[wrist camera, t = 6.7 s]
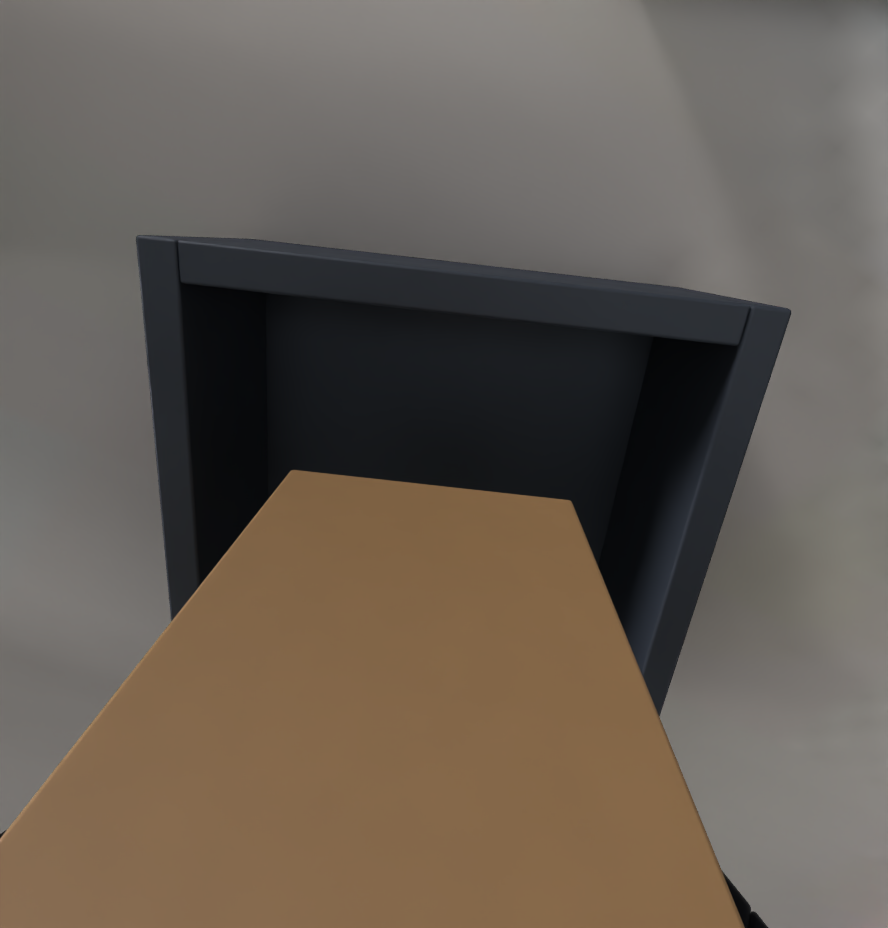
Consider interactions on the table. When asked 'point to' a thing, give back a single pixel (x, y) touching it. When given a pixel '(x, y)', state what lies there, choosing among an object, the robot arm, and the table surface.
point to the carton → (377, 739)
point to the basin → (454, 402)
